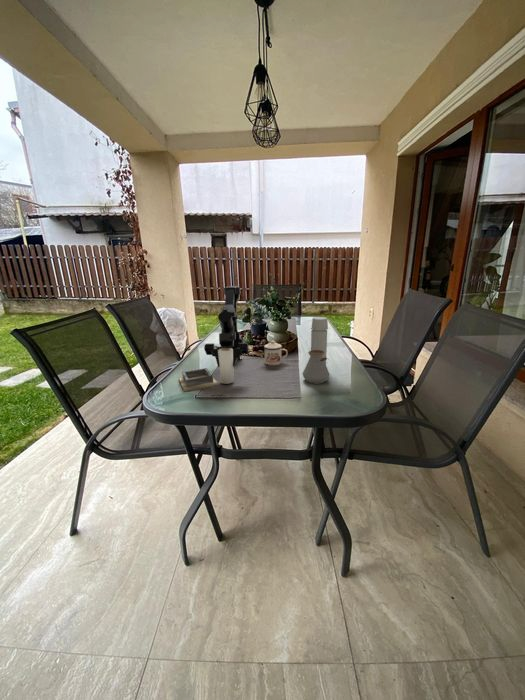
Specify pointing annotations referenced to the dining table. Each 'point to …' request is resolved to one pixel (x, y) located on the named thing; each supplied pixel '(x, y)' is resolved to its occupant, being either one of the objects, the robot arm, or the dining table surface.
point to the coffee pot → (316, 368)
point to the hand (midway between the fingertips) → (226, 366)
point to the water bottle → (319, 334)
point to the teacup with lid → (273, 353)
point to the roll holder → (197, 379)
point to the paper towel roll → (226, 365)
